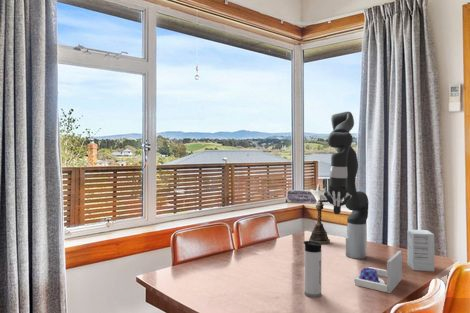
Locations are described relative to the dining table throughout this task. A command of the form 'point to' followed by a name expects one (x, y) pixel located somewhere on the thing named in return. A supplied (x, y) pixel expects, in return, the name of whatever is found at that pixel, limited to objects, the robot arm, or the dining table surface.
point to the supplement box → (421, 250)
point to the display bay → (386, 275)
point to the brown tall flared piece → (319, 217)
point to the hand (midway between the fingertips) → (337, 214)
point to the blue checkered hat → (369, 275)
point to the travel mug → (312, 268)
